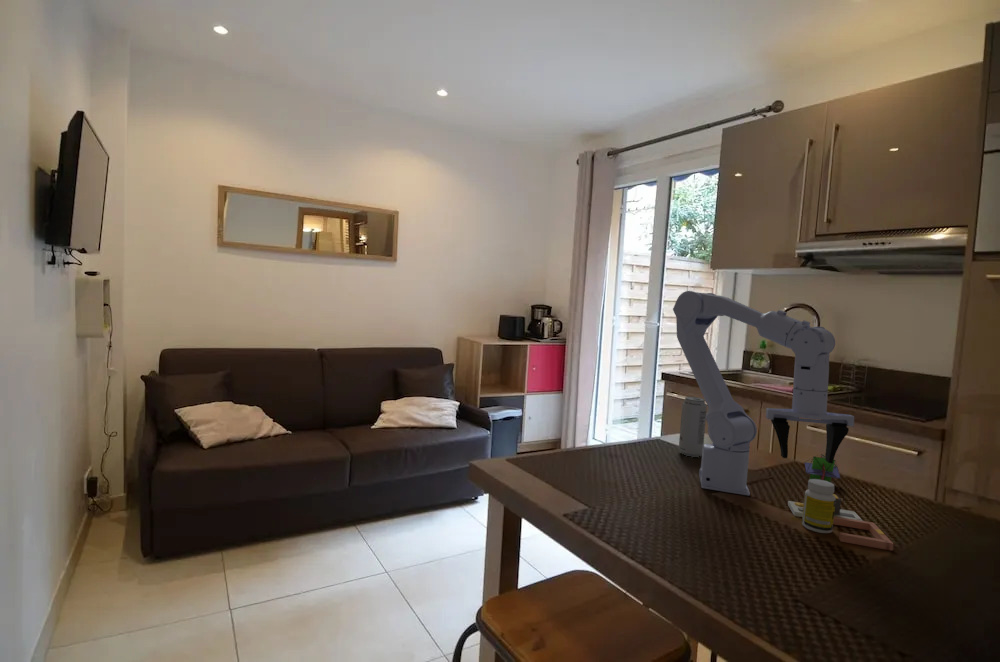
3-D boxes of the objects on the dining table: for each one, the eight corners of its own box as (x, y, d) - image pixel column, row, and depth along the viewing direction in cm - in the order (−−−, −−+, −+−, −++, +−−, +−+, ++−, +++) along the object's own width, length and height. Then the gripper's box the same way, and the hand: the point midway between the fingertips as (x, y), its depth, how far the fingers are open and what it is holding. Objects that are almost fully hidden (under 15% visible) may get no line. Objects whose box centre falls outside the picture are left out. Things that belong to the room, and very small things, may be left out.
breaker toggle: (821, 511, 98) (822, 496, 97) (817, 505, 100) (818, 491, 100) (839, 514, 97) (841, 499, 97) (834, 508, 100) (836, 493, 99)
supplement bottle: (837, 535, 90) (842, 488, 89) (807, 531, 91) (812, 485, 90) (825, 524, 95) (830, 479, 94) (797, 520, 95) (802, 476, 95)
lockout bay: (840, 541, 88) (841, 533, 88) (825, 521, 96) (826, 514, 96) (892, 550, 85) (893, 543, 85) (873, 529, 94) (873, 522, 94)
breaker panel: (794, 515, 98) (794, 510, 98) (787, 504, 103) (788, 499, 103) (865, 527, 94) (865, 522, 94) (854, 515, 100) (854, 510, 100)
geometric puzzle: (844, 484, 112) (842, 450, 116) (807, 478, 115) (807, 445, 119) (836, 495, 117) (835, 462, 121) (802, 489, 120) (802, 457, 124)
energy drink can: (681, 450, 140) (686, 395, 139) (705, 454, 136) (709, 399, 136) (675, 454, 135) (680, 398, 134) (699, 459, 131) (704, 401, 131)
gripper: (772, 388, 97) (768, 460, 98) (861, 395, 93) (857, 469, 93) (765, 384, 104) (761, 451, 104) (848, 390, 100) (844, 459, 100)
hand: (806, 459), depth 99 cm, fingers open, 7 cm apart
